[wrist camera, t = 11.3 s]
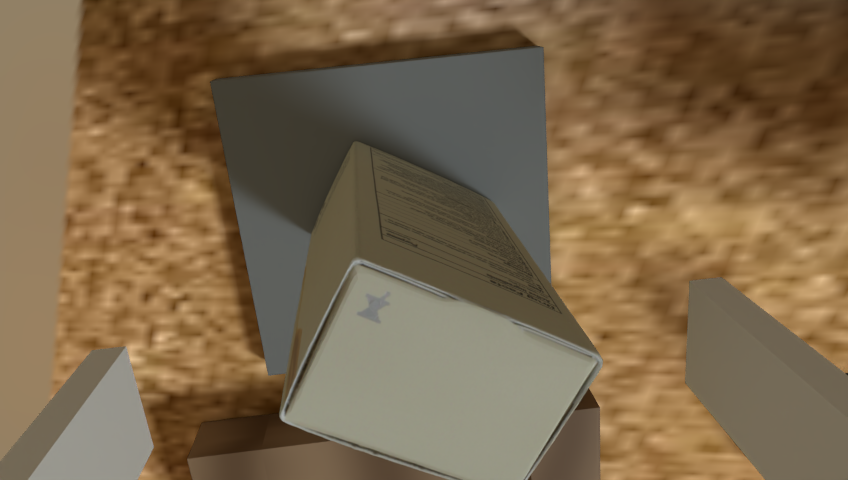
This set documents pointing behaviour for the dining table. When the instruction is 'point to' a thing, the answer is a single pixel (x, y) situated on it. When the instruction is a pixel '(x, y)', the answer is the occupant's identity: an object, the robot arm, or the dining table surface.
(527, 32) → the dining table surface
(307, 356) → the skincare box
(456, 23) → the dining table surface
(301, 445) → the stand
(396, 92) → the slate pad
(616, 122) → the dining table surface
